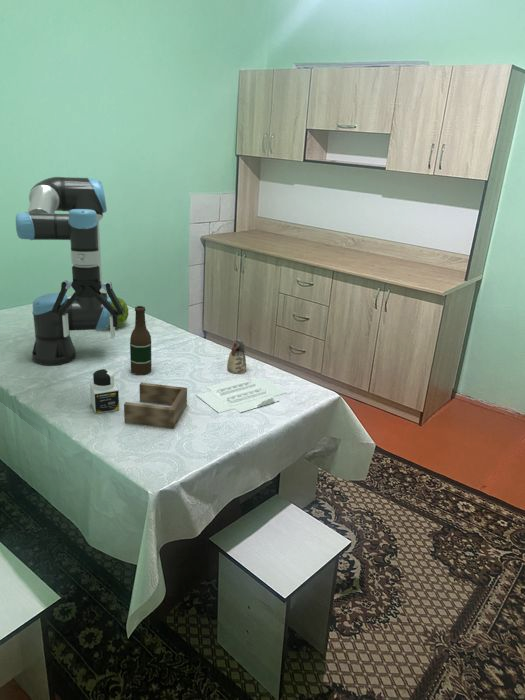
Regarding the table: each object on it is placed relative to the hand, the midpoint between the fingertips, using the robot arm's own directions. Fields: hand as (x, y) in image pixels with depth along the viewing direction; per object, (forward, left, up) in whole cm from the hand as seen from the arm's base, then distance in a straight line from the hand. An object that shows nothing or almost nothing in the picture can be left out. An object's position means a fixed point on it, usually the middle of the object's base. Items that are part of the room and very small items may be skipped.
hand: (89, 336), depth 159 cm
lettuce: (-24, +70, -23) cm, 78 cm away
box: (+20, -2, -22) cm, 30 cm away
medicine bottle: (+4, -2, -23) cm, 23 cm away
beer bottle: (+6, +26, -22) cm, 35 cm away
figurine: (+39, +36, -22) cm, 58 cm away
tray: (+44, +17, -23) cm, 53 cm away
